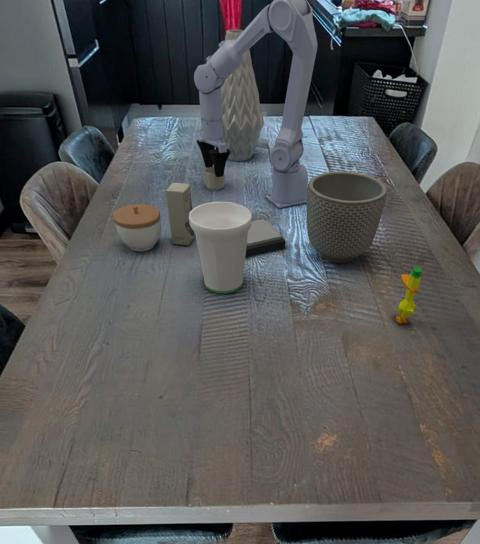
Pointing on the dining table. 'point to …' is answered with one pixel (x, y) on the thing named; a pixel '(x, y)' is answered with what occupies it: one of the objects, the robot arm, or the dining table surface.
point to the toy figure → (409, 294)
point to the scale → (263, 239)
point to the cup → (221, 243)
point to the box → (180, 213)
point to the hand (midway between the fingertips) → (214, 171)
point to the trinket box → (138, 226)
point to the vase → (241, 108)
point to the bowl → (213, 180)
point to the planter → (343, 213)
